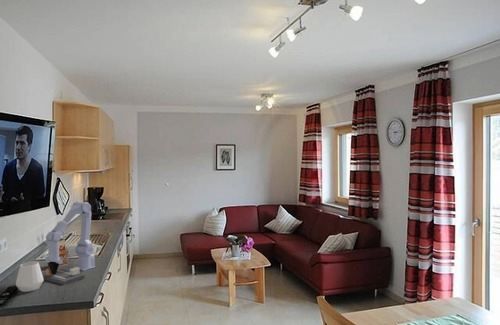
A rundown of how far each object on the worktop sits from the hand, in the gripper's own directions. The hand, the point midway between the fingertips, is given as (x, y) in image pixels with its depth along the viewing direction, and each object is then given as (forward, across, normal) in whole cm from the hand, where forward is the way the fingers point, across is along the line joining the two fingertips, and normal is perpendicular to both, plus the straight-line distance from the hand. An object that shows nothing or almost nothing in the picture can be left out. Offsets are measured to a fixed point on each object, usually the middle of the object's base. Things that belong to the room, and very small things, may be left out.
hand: (54, 274), depth 217 cm
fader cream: (0, +10, +7) cm, 12 cm away
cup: (+3, +4, -16) cm, 17 cm away
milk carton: (+3, -24, +18) cm, 31 cm away
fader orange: (0, -3, 0) cm, 3 cm away
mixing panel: (+3, +2, +4) cm, 5 cm away
